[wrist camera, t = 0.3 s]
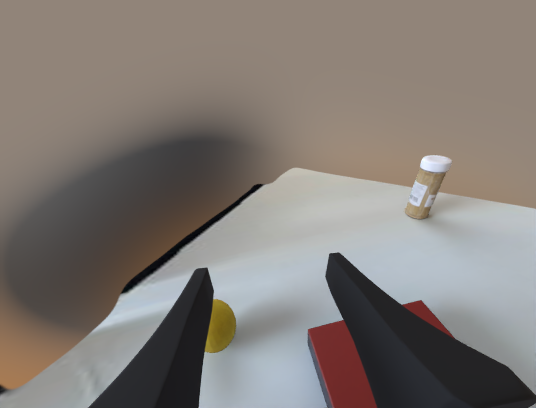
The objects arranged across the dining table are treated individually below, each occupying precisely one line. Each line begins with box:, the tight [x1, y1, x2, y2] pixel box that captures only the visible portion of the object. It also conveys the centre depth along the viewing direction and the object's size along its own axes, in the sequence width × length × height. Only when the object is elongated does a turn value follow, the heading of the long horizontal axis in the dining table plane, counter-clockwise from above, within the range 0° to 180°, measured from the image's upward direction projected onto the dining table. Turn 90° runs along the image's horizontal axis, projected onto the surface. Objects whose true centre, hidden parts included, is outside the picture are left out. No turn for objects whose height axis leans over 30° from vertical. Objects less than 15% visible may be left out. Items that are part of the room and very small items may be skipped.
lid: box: [308, 300, 454, 408], centre depth 18 cm, size 15×14×4 cm
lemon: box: [205, 299, 236, 353], centre depth 25 cm, size 6×6×8 cm
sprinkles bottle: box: [405, 155, 452, 219], centre depth 41 cm, size 5×5×14 cm
